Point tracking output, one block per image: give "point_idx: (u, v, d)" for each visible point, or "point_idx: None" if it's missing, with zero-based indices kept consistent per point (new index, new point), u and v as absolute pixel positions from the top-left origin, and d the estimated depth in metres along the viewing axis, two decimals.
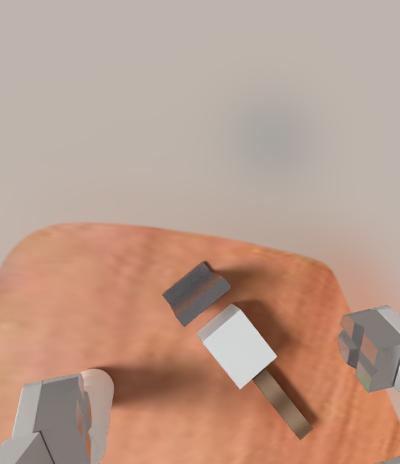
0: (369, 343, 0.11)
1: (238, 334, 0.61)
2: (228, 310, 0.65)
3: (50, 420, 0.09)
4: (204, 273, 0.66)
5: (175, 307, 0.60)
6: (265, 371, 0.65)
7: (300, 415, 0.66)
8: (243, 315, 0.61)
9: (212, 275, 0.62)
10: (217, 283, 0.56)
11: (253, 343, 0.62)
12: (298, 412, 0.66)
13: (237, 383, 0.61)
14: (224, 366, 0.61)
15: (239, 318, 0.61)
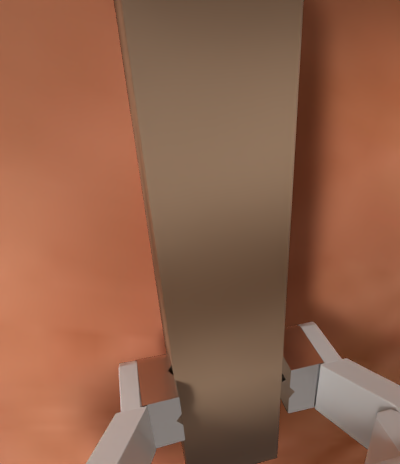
0: (285, 363, 0.10)
1: None
2: None
3: (154, 396, 0.09)
4: None
5: None
6: None
7: (270, 392, 0.11)
8: None
9: None
10: None
11: None
12: (273, 376, 0.11)
13: None
14: None
15: None
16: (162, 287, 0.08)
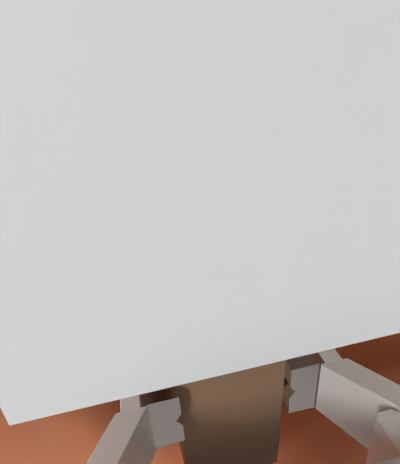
0: (285, 363, 0.10)
1: None
2: None
3: (154, 395, 0.09)
4: None
5: None
6: None
7: (272, 397, 0.11)
8: None
9: None
10: None
11: None
12: (275, 381, 0.11)
13: (6, 371, 0.05)
14: None
15: None
16: None
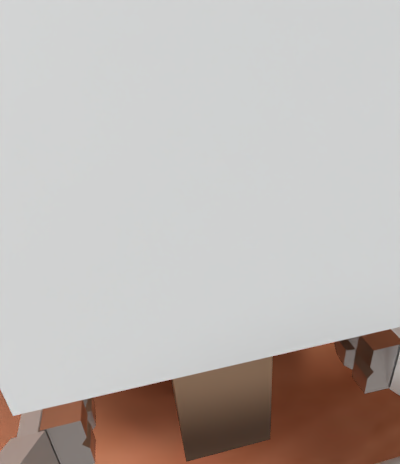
0: (365, 344, 0.11)
1: None
2: None
3: (55, 419, 0.09)
4: None
5: None
6: None
7: (262, 375, 0.12)
8: None
9: None
10: None
11: None
12: (264, 359, 0.11)
13: (10, 360, 0.05)
14: None
15: None
16: None
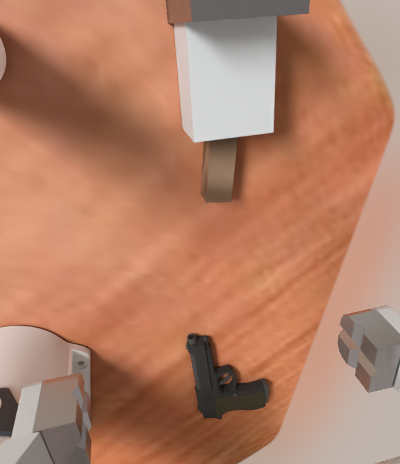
0: (369, 343, 0.11)
1: (246, 56, 0.34)
2: None
3: (50, 420, 0.09)
4: None
5: None
6: None
7: (231, 173, 0.42)
8: (274, 30, 0.33)
9: None
10: None
11: (257, 88, 0.35)
12: (232, 168, 0.42)
13: (196, 131, 0.36)
14: (194, 90, 0.34)
15: (265, 30, 0.33)
16: None
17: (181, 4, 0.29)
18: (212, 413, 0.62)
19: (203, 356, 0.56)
